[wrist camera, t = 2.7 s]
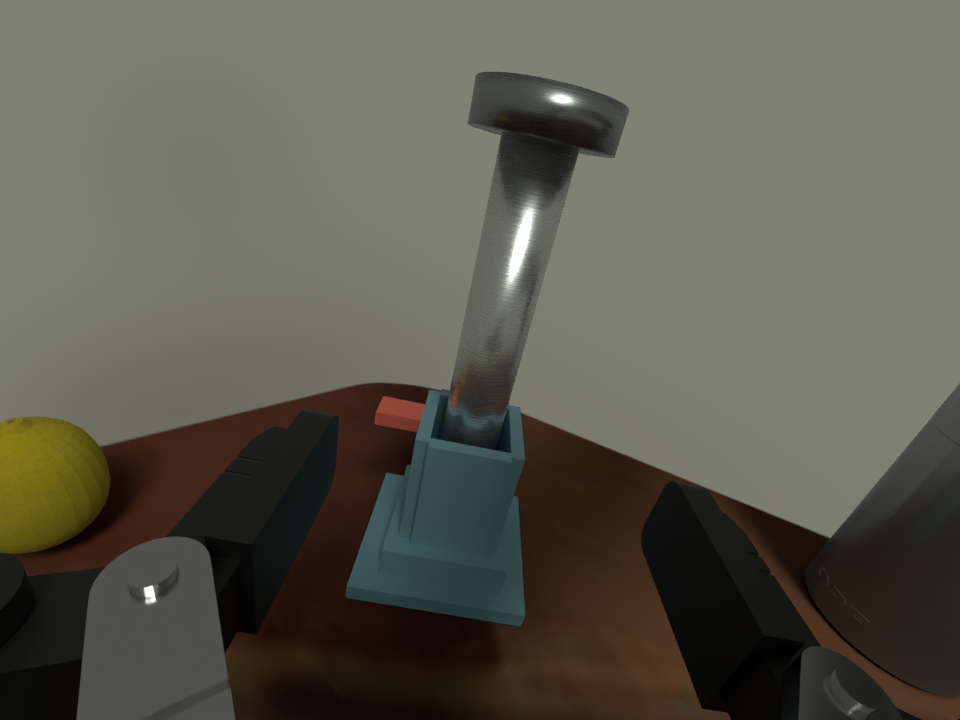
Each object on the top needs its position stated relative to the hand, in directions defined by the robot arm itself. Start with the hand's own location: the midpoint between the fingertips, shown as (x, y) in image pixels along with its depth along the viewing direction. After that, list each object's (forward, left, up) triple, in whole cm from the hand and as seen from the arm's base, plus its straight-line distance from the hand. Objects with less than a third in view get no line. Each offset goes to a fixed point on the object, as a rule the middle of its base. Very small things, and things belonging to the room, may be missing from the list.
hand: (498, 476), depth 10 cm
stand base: (0, -11, -16) cm, 20 cm away
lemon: (+21, -7, -16) cm, 28 cm away
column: (0, -11, -15) cm, 19 cm away
